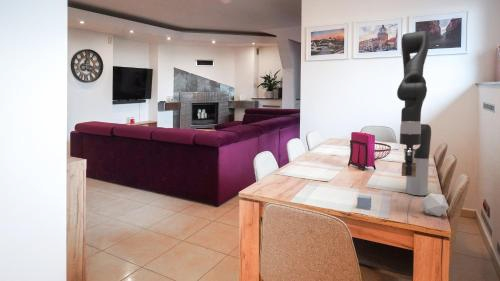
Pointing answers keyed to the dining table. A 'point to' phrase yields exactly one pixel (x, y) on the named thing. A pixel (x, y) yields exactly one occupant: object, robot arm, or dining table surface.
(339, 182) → the dining table surface
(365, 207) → the blue cube
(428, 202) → the die
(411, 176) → the walnut cube
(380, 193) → the dining table surface
